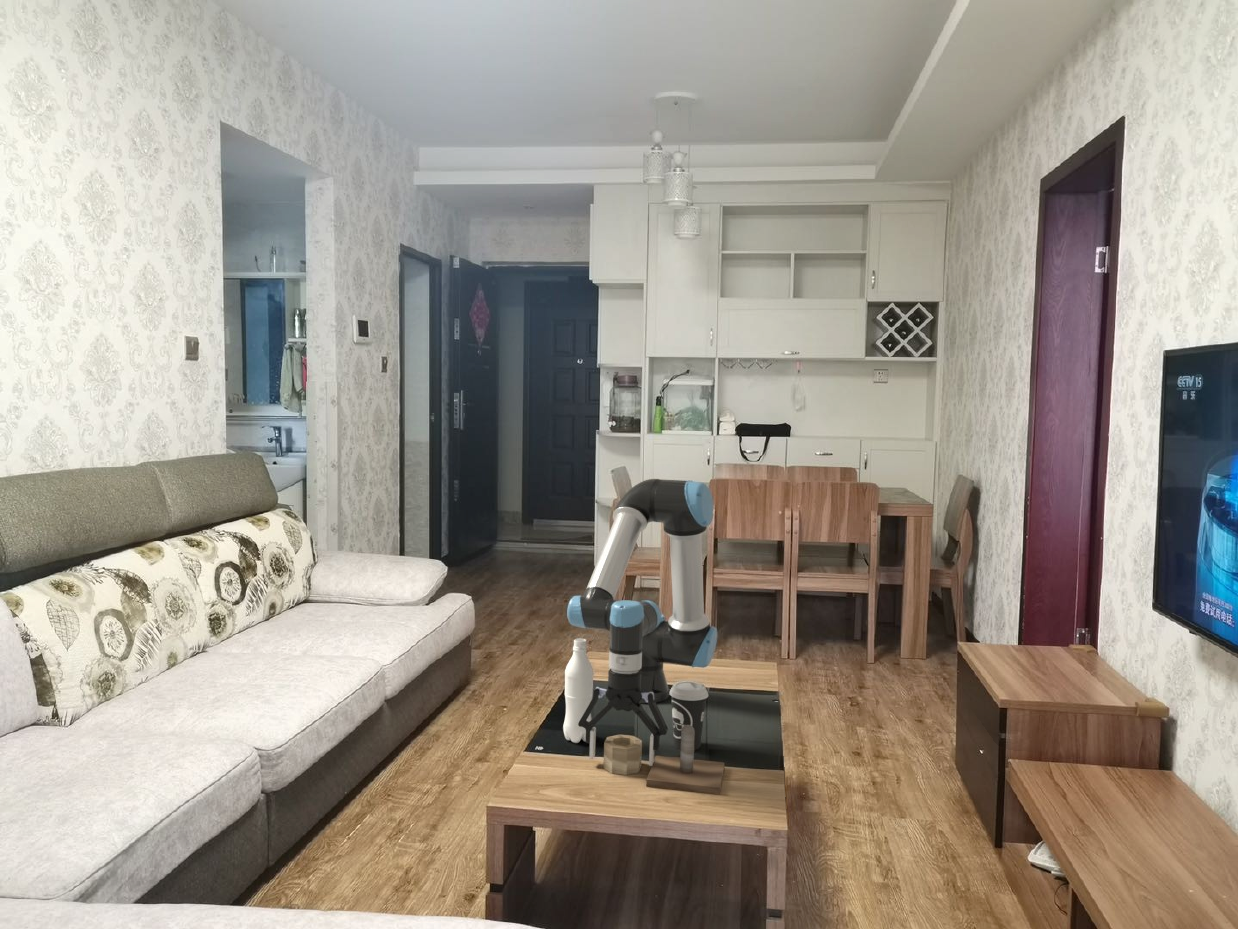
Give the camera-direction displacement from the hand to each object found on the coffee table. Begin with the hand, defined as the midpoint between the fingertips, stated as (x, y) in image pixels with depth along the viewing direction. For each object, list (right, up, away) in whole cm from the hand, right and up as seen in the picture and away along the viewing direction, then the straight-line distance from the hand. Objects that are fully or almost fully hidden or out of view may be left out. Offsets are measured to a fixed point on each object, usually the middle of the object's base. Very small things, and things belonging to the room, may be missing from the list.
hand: (621, 760), depth 206 cm
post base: (+15, -2, -4) cm, 15 cm away
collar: (0, -2, 0) cm, 2 cm away
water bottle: (-11, 0, +17) cm, 20 cm away
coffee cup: (+16, -1, +15) cm, 22 cm away
